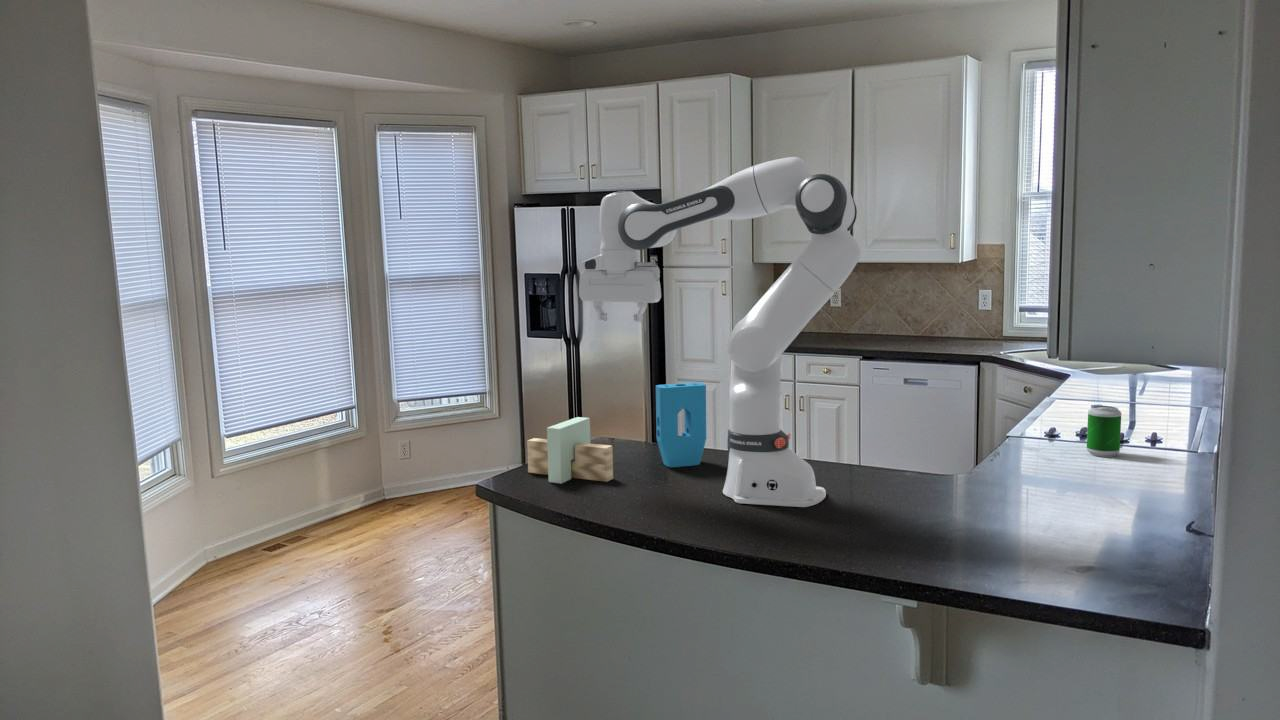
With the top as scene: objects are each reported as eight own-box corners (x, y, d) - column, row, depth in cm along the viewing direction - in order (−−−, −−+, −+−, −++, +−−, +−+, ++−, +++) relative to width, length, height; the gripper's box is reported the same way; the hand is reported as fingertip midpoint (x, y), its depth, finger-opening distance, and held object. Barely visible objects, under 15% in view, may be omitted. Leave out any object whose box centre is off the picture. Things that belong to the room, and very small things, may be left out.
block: (662, 468, 235) (660, 388, 232) (655, 463, 239) (654, 385, 237) (707, 464, 238) (707, 385, 235) (700, 459, 243) (700, 382, 240)
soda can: (1123, 458, 236) (1125, 410, 234) (1090, 457, 238) (1092, 410, 236) (1114, 451, 243) (1116, 405, 242) (1082, 450, 245) (1085, 404, 243)
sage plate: (591, 469, 234) (589, 417, 233) (561, 483, 222) (559, 428, 220) (578, 468, 236) (577, 416, 234) (548, 482, 224) (546, 427, 222)
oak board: (613, 478, 226) (612, 445, 224) (606, 481, 223) (606, 448, 222) (534, 469, 235) (533, 438, 234) (528, 472, 233) (527, 440, 232)
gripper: (665, 261, 219) (666, 321, 221) (588, 261, 229) (589, 319, 231) (653, 262, 214) (654, 323, 216) (575, 262, 223) (576, 321, 225)
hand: (620, 321), depth 223 cm, fingers open, 8 cm apart
